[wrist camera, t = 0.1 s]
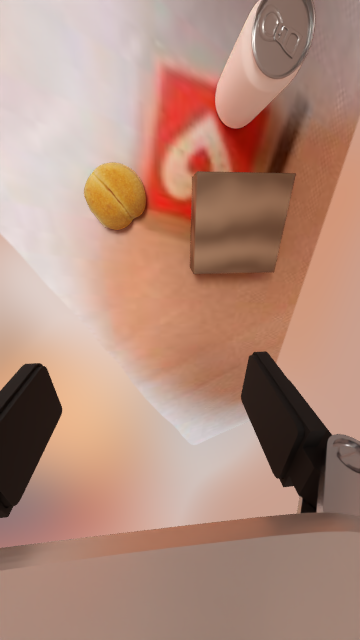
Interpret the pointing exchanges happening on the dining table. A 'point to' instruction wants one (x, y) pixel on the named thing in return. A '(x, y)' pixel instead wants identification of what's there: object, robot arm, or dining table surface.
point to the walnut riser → (238, 221)
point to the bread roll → (115, 195)
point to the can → (264, 58)
